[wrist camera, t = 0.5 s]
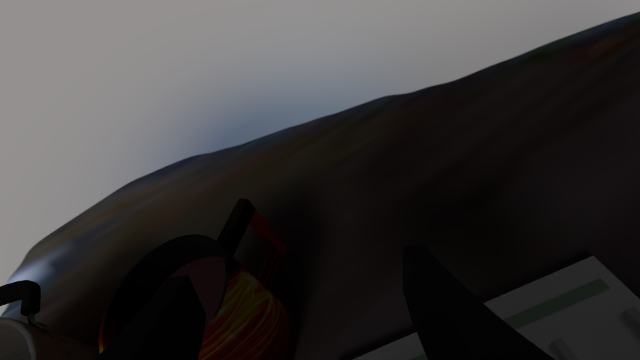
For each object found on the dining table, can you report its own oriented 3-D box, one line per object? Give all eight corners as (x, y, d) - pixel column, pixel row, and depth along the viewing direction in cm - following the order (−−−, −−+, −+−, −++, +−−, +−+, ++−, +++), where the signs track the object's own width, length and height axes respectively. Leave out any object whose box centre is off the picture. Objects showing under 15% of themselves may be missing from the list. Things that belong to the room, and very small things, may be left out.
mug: (290, 249, 36) (237, 179, 27) (301, 395, 26) (223, 359, 18) (212, 272, 37) (138, 213, 29) (195, 419, 27) (75, 396, 19)
